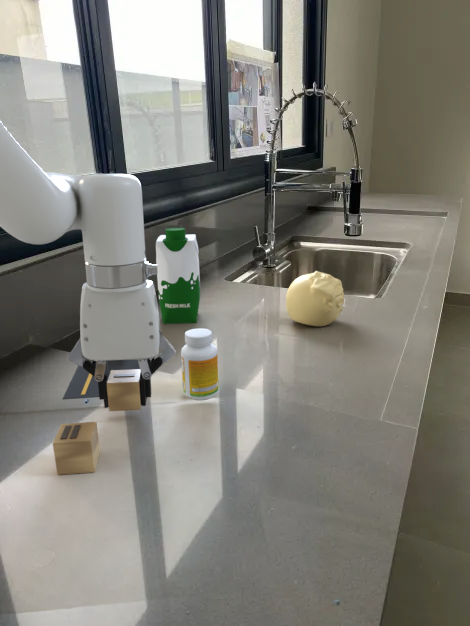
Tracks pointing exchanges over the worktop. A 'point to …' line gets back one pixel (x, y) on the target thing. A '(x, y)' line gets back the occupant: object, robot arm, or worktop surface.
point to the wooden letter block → (124, 390)
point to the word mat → (86, 383)
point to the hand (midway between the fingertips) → (126, 401)
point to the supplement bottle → (199, 365)
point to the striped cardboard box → (76, 448)
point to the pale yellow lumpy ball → (315, 299)
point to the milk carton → (178, 276)
